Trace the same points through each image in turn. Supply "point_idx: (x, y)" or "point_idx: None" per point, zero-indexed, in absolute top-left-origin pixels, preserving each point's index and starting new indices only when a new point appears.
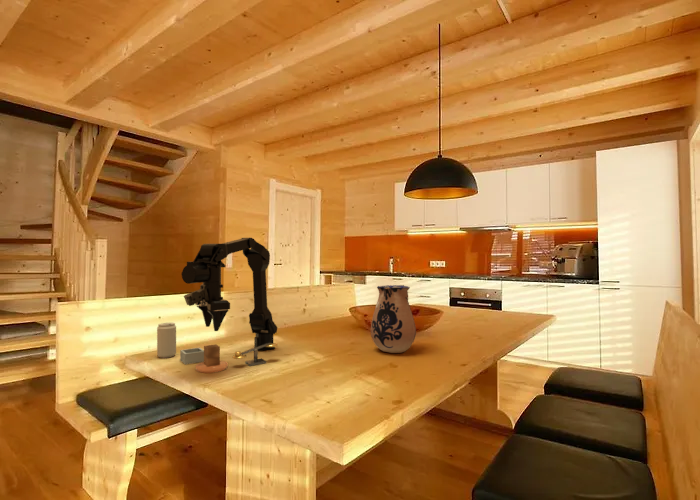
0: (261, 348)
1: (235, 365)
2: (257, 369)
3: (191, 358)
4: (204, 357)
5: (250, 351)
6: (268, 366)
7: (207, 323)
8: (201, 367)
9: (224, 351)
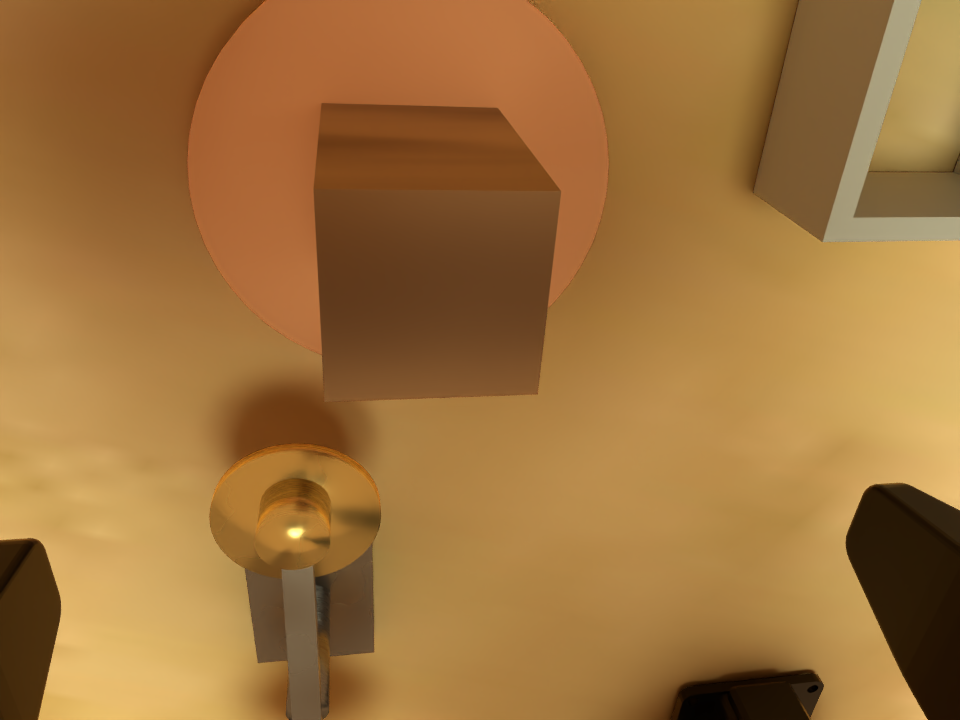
0: (709, 712)
1: (358, 419)
2: (79, 543)
3: (833, 26)
4: (489, 133)
5: (289, 649)
6: (141, 635)
7: (915, 572)
8: (336, 18)
9: (941, 464)
